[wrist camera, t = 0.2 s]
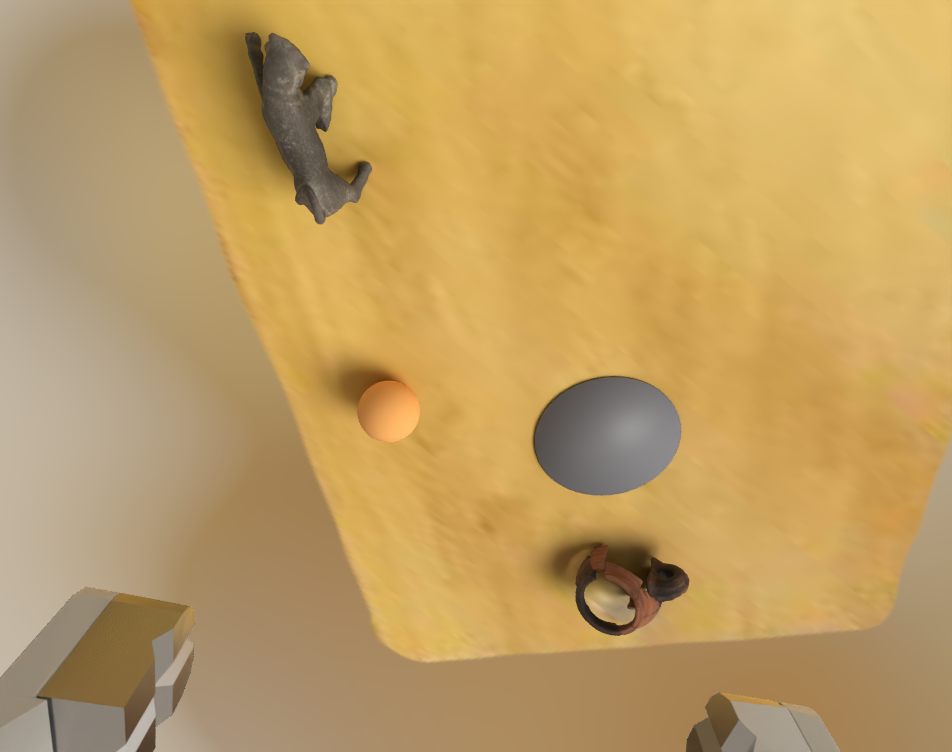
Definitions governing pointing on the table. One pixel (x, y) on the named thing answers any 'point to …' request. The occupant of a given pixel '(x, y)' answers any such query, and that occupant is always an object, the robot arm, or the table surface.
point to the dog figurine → (301, 124)
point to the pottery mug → (630, 589)
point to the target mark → (607, 436)
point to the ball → (388, 411)
